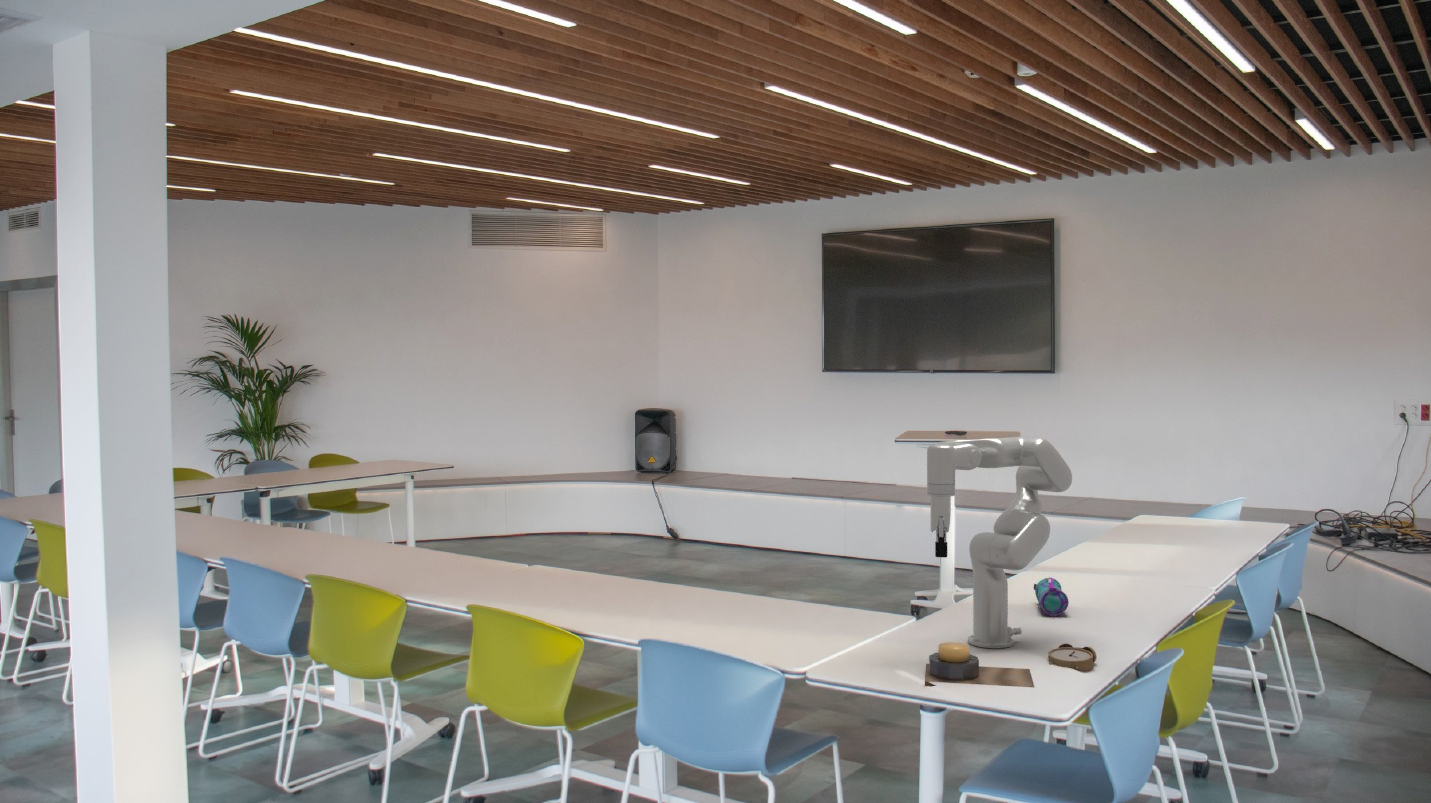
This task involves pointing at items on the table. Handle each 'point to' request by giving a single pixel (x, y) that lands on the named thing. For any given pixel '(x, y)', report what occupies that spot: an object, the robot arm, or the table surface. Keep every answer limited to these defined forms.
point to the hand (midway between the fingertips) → (941, 556)
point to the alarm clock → (1073, 657)
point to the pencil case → (1051, 596)
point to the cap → (953, 652)
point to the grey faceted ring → (954, 668)
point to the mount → (991, 677)
